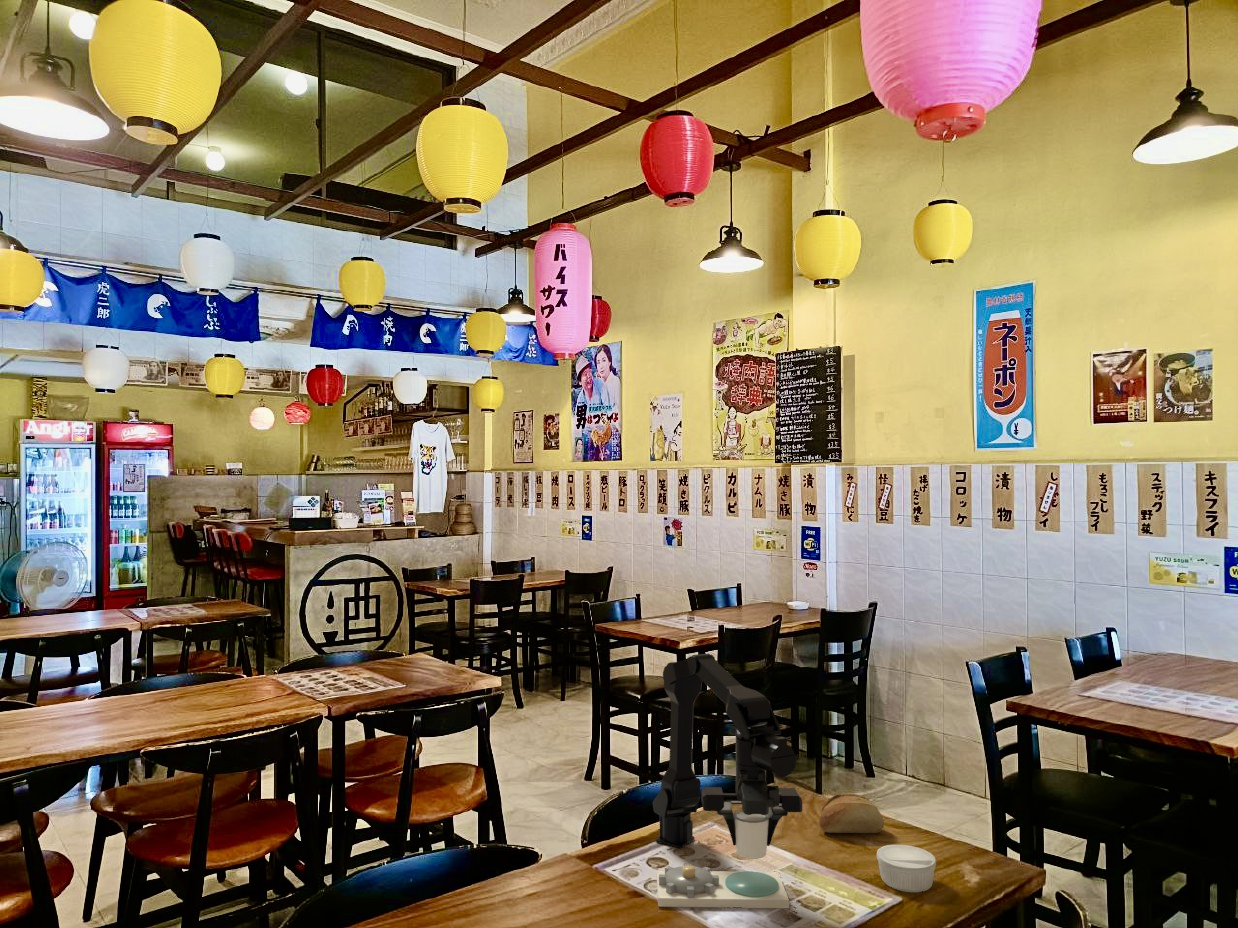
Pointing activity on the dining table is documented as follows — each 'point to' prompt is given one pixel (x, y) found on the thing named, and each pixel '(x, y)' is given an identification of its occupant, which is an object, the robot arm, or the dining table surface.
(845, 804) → the bread roll
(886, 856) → the ramekin
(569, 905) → the dining table surface
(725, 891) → the gear board
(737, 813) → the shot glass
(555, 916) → the dining table surface
